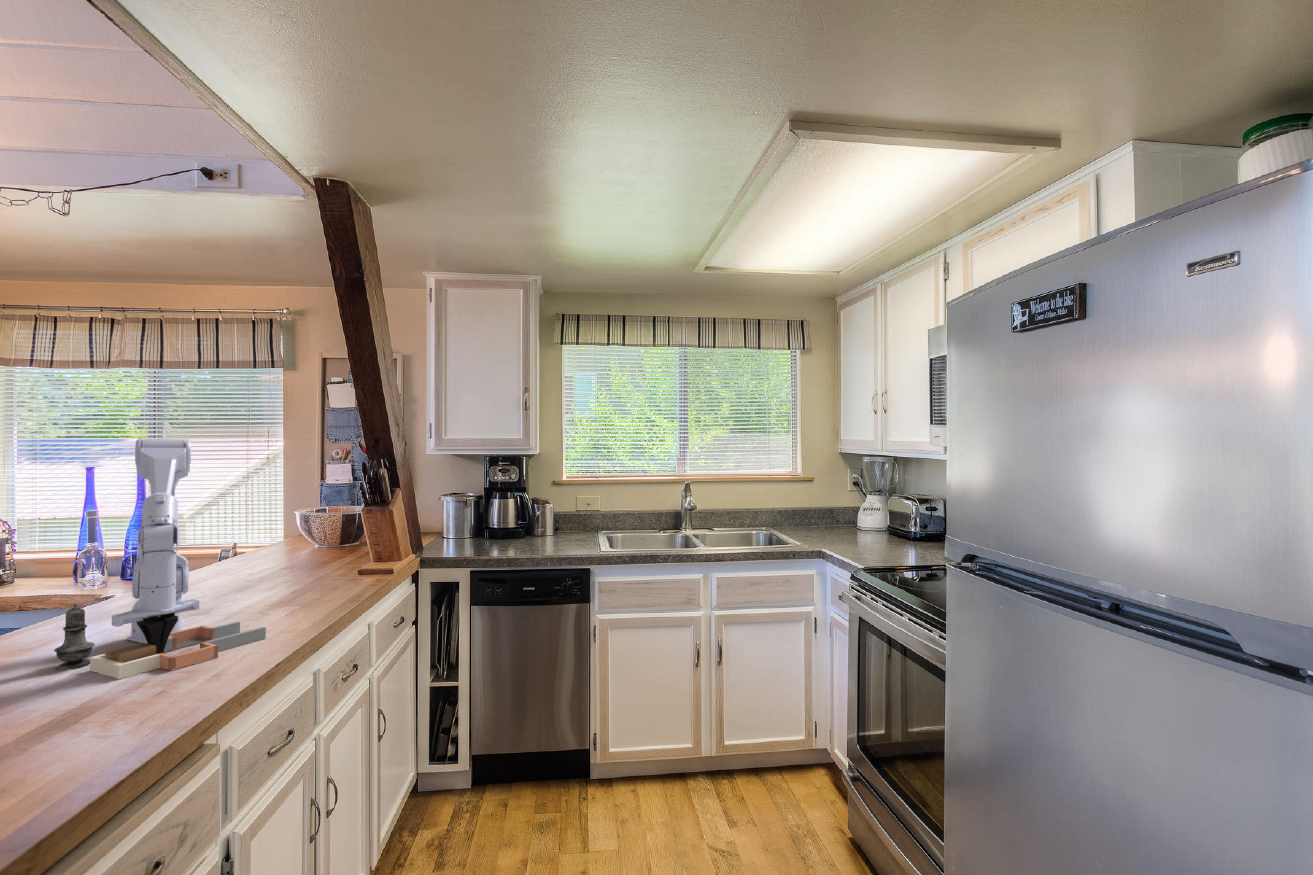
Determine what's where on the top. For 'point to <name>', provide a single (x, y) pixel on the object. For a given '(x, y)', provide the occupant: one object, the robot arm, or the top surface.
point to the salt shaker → (74, 641)
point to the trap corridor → (203, 635)
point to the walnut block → (131, 652)
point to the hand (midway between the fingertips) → (156, 653)
